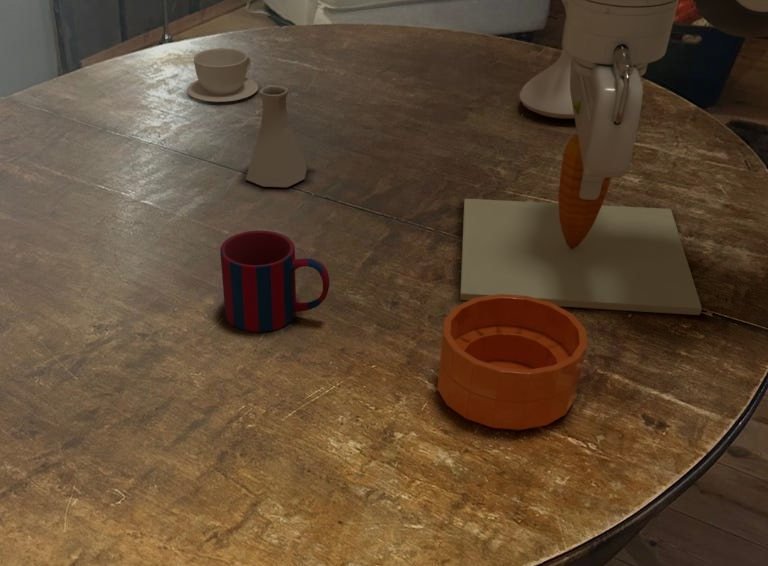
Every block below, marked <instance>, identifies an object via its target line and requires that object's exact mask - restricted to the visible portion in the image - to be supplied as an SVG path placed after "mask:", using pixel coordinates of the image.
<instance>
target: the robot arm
mask: <svg viewBox="0 0 768 566" xmlns="http://www.w3.org/2000/svg"><path fill="white" fill-rule="evenodd" d="M693 3H694V5H695V7H696V9H697V12H698V13H699V14H700V15H701V17H702V18H703V19H704V20H705V21H706V22H707V24H709V25H710V26H712V28H715V29H716V30H718V31H719V32H721V33H725V34H727V35H730V36H732V37H733V36H734V37H737V38H738V37H739V38H761V37H768V0H693ZM678 5H679V0H569V3H568V9H567V15H566V14H565V21H564V27H563V32H562V33H563V34H562V39H561V48H562V51H563V50H564V51H565V52H566V53H568V54H569V55H571V56H572V60H571V72H570V95H571V100H572V106H573V104H574V103H575V102H576V101H580V102H581V105H580V111H579V115H577V112H576V110H575V108H574V106H573V112H574V117H575V118H574V123H575V128H576V135H578V140H579V146H580V152H581V157H582V163H583V175H582V174H581V179H580V184H579V195H580V198H582V199H587V200H595V199H597V198H598V197H599V195H600V191H601V186H602V182H603V181H604V179H605V177H611V178H616V179H617V178H623V177H625V175H626V174H627V172H628V171H629V169H630V166H631V161H632V157H633V153H634V148H635V142H636V139H637V132H638V129H639V128H638V127H639V124H640V123H639V122H640V117H641V113H642V105H643V99H644V97H643V96H644V87H643V82H642V79H641V77H642V76H644V75H646V72H647V68H648V64H651V63H654V62H657V61H658V60H661V59H662V58H663V57H665V55H666V53H667V49H668V46H669V41H670V37H671V33H672V30H673V26H674V25H673V24H674V22H675V21H674V20H675V18H676V17H675V16H676V13H677V9H678ZM614 122H615V125H614Z"/></svg>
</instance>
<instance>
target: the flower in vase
mask: <svg viewBox="0 0 768 566" xmlns="http://www.w3.org/2000/svg"><path fill="white" fill-rule="evenodd" d="M561 2H562V4H563V6H564V10H565V16H566V15H567V9H568V3H569V0H561ZM571 60H572V56H571V55H569V54H568V53H566V52H565V51H564V50H563V49H562V51H561V54H560V56H559V58H558V59H557V60H556V61H555V62H554V63H553V64H552V65H550V66H548V67H547V68H546V69H544V70H542V71H541V72H539V73H538V74H536V75H535V76H534V77H532V78H531V79H530V80H529V81H527V83H525V84H524V85H523V87H522V89H521V90H520V92H519V95H518V96H519V99H520V101H521V103H522V105H523V107H525V108H526V109H528V110H529V111H531V112H534V113H536V114H538V115H540V116H545V117H548V118H554V119H562V120H565V119H566V120H572V119H573V120H575V117H574V112H573V106H572V100H571V95H570V72H571Z"/></svg>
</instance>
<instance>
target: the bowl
mask: <svg viewBox="0 0 768 566" xmlns="http://www.w3.org/2000/svg"><path fill="white" fill-rule="evenodd" d="M587 337H588V336H587V331H586V328H585V327H584V325H583V324H582V323H581V322H580V321H579V320H578V319H577V318H576V316H575V315H574V314H573V313H571V312H569V311H568V310H566V309H564V308H563V307H561V306H557V305H555V304H553V303H551V302H547V301H544V300H540V299H536V298H533V297H529V296H522V295H507V294H497V295H491V296H484V297H478V298H474V299H471V300H466V301H465V302H463V303H461V304H459V305H456V306H455V307H454V308H453V309H452V310H451V311H450V312H449V313H448V315H447V316H446V317H445V318H444V320H443V327H442V338H441V344H440V345H441V346H440V353H439V354H440V355H439V364H438V373H437V387H436V388H437V391H438V393H439V394H440V396H441V398H442V400H443V401H444V402H445V403H444V404H445V405H446V406H447V407H448V408H450V409H452V410H453V411H454V412H456V413H457V414H459V415H460V416H462V417H463V418H464V419H466V420H468V421H472V422H475V423H479V424H480V425H484V426H487V427H489V428H492V429H502V430H504V429H505V430H514V431H515V430H516V431H522V430H527V429H532V428H538V427H544V426H545V427H546V426H548V425H550V424H551V423H554V422H555V421H557V420H559V419H561V418H562V417H564V416H565V415H567V413H568V411H569V410H570V408H571V407H572V405H573V403H574V402H575V400H576V396H577V391H578V388H579V387H578V386H579V384H580V383H579V382H580V379H581V375H582V370H583V366H584V361H585V358H586V354H587V348H588V338H587Z"/></svg>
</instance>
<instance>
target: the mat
mask: <svg viewBox="0 0 768 566" xmlns="http://www.w3.org/2000/svg"><path fill="white" fill-rule="evenodd" d="M462 214H463V215H462V216H463V217H462V219H463V220H462V240H461V242H462V243H461V262H460V263H461V266H460V290H459V300H460V301H469V300H471V299H474V298H478V297H484V296H491V295H497V294H507V295H522V296H529V297H533V298H536V299H540V300H544V301H547V302H551V303H553V304H555V305H557V306H559V307H561V308H563V307H564V308H580V309H594V310H595V309H597V310H612V311H626V312H627V311H628V312H642V313H656V314H657V313H659V314H673V315H689V316H691V315H692V316H700V315H701V313H702V310H703V306H702V304H701V300H700V297H699V294H698V292H697V288H696V285H695V281H694V279H693V276H692V272H691V269H690V267H689V266H690V265H689V262H688V259H687V256H686V253H685V249H684V246H683V243H682V240H681V237H680V234H679V230H678V227H677V223H676V221H675V218H674V214H673V212H672V209H671V208H663V207H661V208H659V207H642V206H641V207H640V206H621V205H603V204H602V206H601V208H600V211H599V213H598V215H597V218H596V220H595V222H594V224H593V226H592V228H591V229H590V231H589V232H588V234H587V235H586V237H585V238H584V239H583V240H582V242H581V243H580V244H579V245H578V246H577V247H575V248H574V249H571V248H570V247H569V246H568V245H567V243H566V241H565V238H564V235H563V232H562V228H561V224H560V219H559V202H542V201H541V202H539V201H523V200H522V201H521V200H520V201H519V200H504V199H503V200H500V199H499V200H498V199H481V198H464V200H463V213H462Z"/></svg>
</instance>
